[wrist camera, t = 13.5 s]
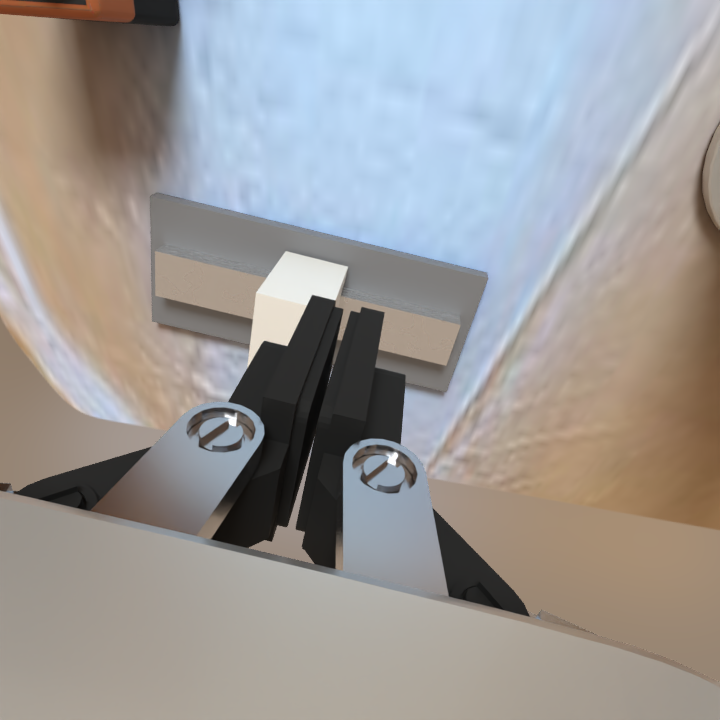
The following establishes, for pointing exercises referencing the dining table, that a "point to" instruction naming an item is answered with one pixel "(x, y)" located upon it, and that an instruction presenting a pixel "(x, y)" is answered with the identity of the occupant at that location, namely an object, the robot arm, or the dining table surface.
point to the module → (291, 296)
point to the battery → (98, 10)
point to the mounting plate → (272, 239)
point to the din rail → (401, 320)
